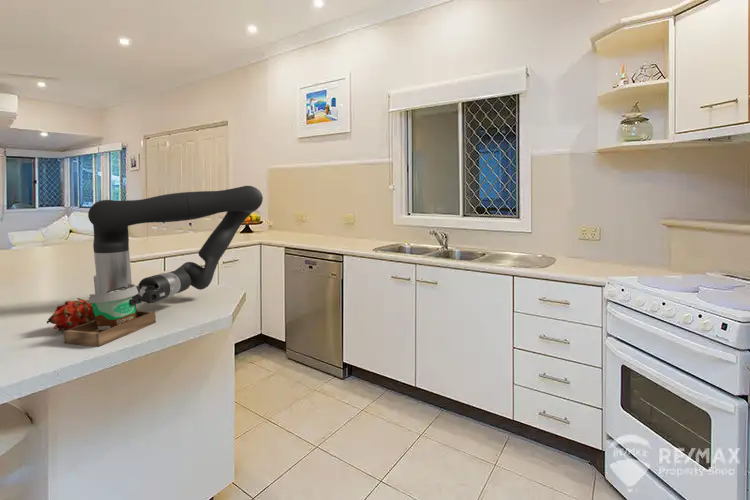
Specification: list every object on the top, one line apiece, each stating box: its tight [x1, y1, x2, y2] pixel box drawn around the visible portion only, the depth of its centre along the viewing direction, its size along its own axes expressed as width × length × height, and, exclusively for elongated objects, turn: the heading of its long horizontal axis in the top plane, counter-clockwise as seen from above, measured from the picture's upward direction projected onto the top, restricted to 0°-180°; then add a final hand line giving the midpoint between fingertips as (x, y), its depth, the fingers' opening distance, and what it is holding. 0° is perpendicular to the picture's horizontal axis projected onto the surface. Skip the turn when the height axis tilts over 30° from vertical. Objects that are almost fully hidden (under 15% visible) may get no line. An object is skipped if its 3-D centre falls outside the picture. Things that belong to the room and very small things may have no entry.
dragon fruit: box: [46, 297, 96, 332], centre depth 103 cm, size 8×8×12 cm
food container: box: [88, 283, 139, 332], centre depth 101 cm, size 12×6×10 cm, turn 167°
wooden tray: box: [62, 310, 157, 347], centre depth 101 cm, size 10×18×3 cm, turn 169°
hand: (113, 301), depth 101 cm, fingers open, 7 cm apart
